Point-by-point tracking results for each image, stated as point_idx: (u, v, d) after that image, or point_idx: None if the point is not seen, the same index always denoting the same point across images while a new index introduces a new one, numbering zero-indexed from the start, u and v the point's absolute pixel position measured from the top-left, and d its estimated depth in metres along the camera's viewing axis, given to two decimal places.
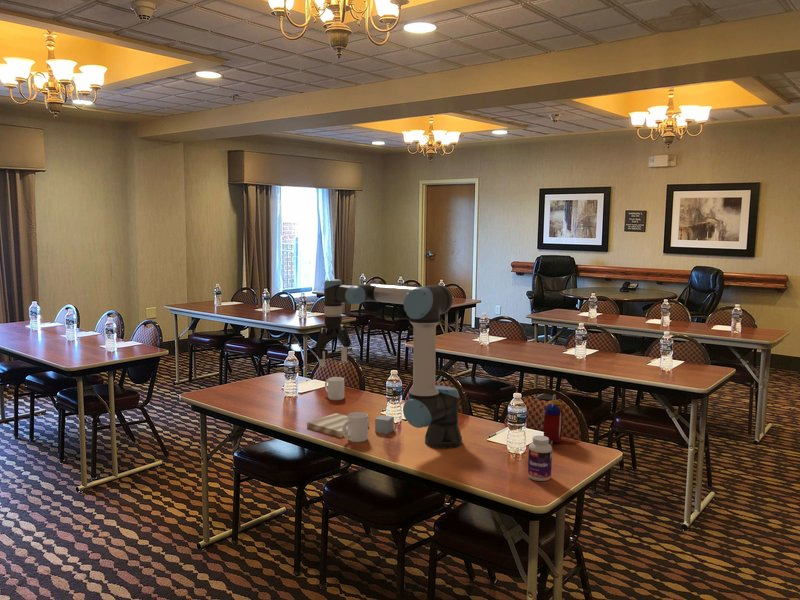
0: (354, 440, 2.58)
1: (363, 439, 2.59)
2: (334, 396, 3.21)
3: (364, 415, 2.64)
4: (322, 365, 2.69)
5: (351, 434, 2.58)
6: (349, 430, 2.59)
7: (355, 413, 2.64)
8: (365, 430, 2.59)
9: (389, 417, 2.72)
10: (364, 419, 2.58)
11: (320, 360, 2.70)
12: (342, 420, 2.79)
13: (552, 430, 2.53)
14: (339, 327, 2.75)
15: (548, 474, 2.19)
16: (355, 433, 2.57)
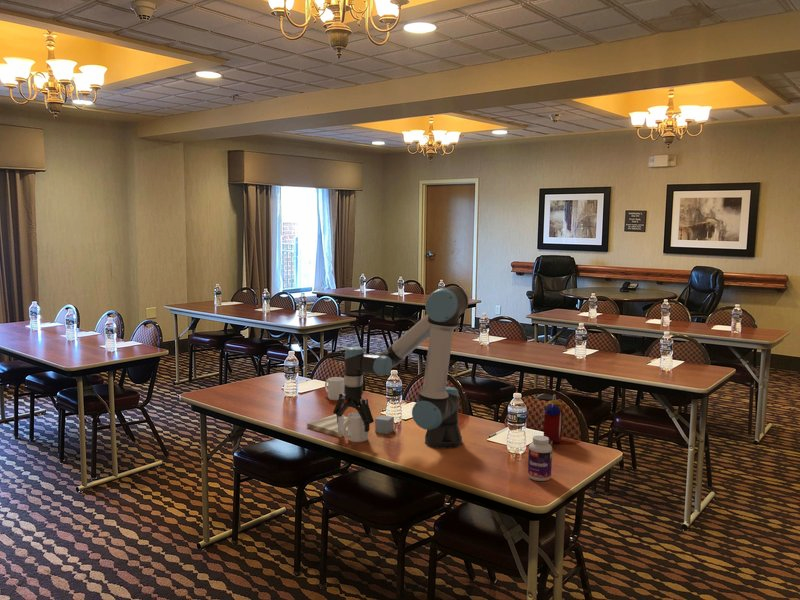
0: (354, 440, 2.58)
1: None
2: (334, 396, 3.21)
3: None
4: None
5: (351, 434, 2.58)
6: (349, 430, 2.59)
7: (355, 413, 2.64)
8: None
9: (389, 417, 2.72)
10: None
11: None
12: None
13: (552, 430, 2.53)
14: (356, 399, 2.56)
15: (548, 474, 2.19)
16: (355, 433, 2.57)
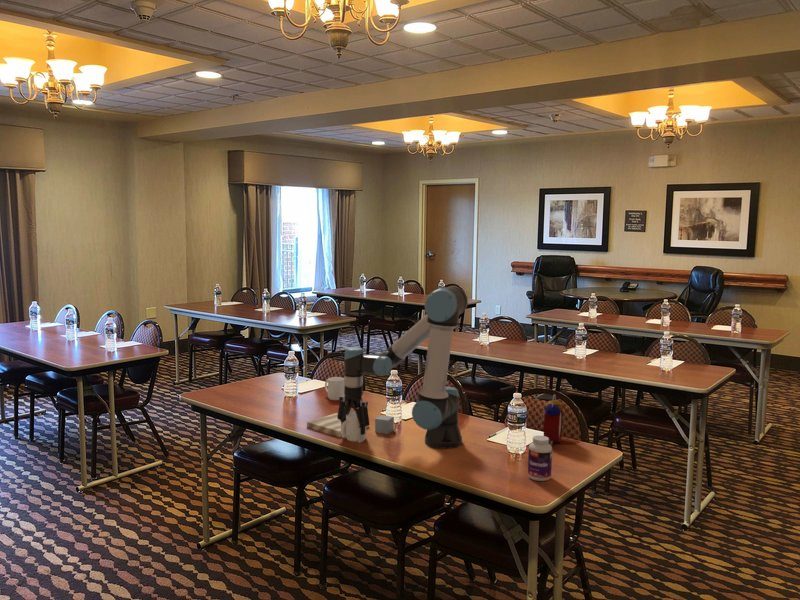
0: (353, 440, 2.58)
1: None
2: (334, 396, 3.21)
3: None
4: None
5: (350, 434, 2.59)
6: (347, 430, 2.59)
7: (353, 413, 2.65)
8: None
9: (389, 417, 2.72)
10: None
11: None
12: None
13: (552, 430, 2.53)
14: (356, 400, 2.56)
15: (548, 474, 2.19)
16: (354, 433, 2.58)
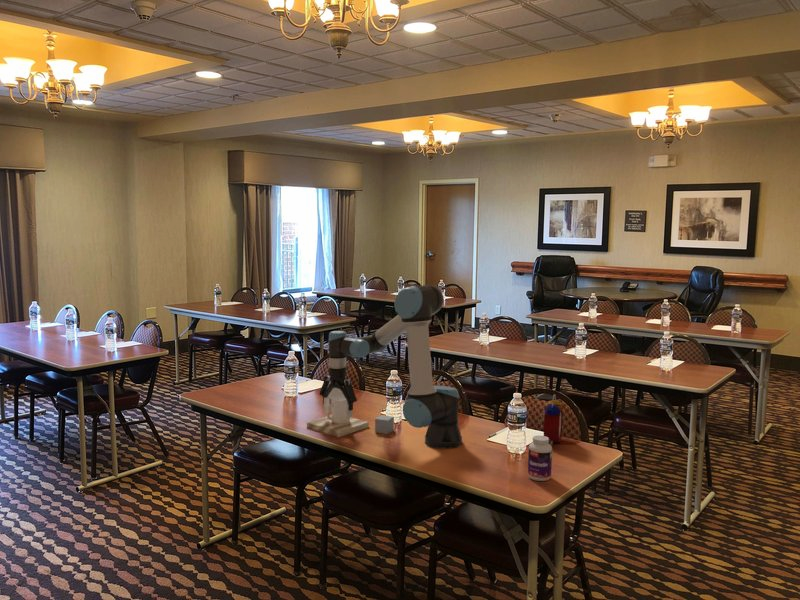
0: (337, 422, 2.75)
1: (345, 421, 2.75)
2: (334, 396, 3.21)
3: None
4: None
5: (334, 416, 2.75)
6: (332, 412, 2.75)
7: (338, 397, 2.81)
8: None
9: (389, 417, 2.72)
10: (346, 402, 2.75)
11: None
12: None
13: (552, 430, 2.53)
14: (340, 380, 2.72)
15: (548, 474, 2.19)
16: (338, 415, 2.74)
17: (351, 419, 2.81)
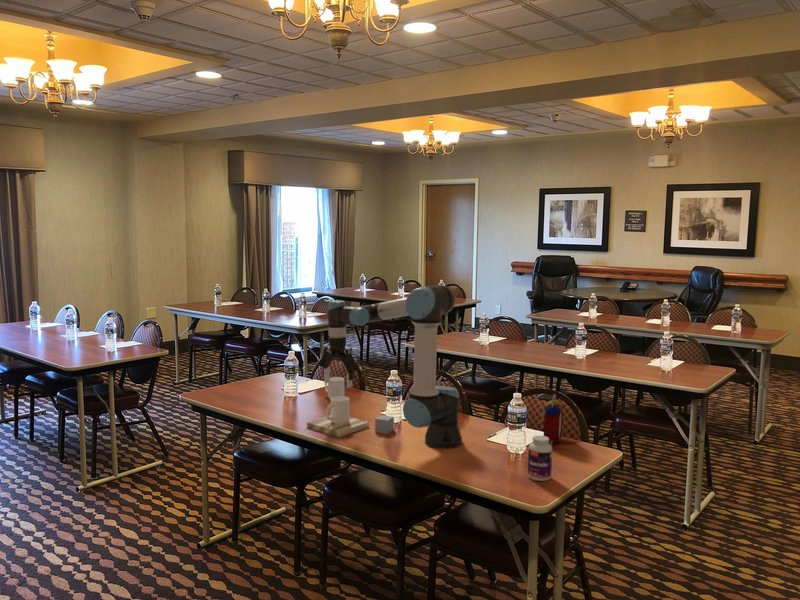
0: (337, 422, 2.74)
1: (345, 421, 2.75)
2: (334, 396, 3.21)
3: (346, 399, 2.80)
4: None
5: (334, 416, 2.74)
6: (332, 413, 2.75)
7: (337, 397, 2.80)
8: (347, 413, 2.75)
9: (389, 417, 2.72)
10: (346, 402, 2.74)
11: None
12: None
13: (552, 430, 2.53)
14: (340, 350, 2.71)
15: (548, 474, 2.19)
16: (338, 415, 2.74)
17: (351, 419, 2.81)
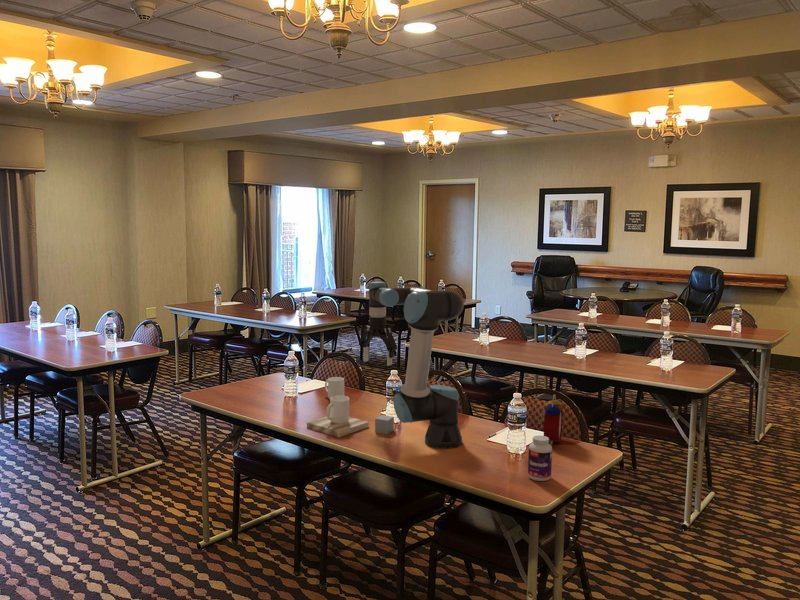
0: (336, 422, 2.74)
1: (345, 421, 2.75)
2: None
3: (345, 398, 2.80)
4: None
5: (334, 416, 2.74)
6: (332, 412, 2.75)
7: (337, 396, 2.80)
8: (347, 412, 2.75)
9: (389, 417, 2.72)
10: (346, 402, 2.74)
11: None
12: None
13: (552, 430, 2.53)
14: (381, 329, 2.81)
15: (548, 474, 2.19)
16: (338, 415, 2.73)
17: (351, 419, 2.81)
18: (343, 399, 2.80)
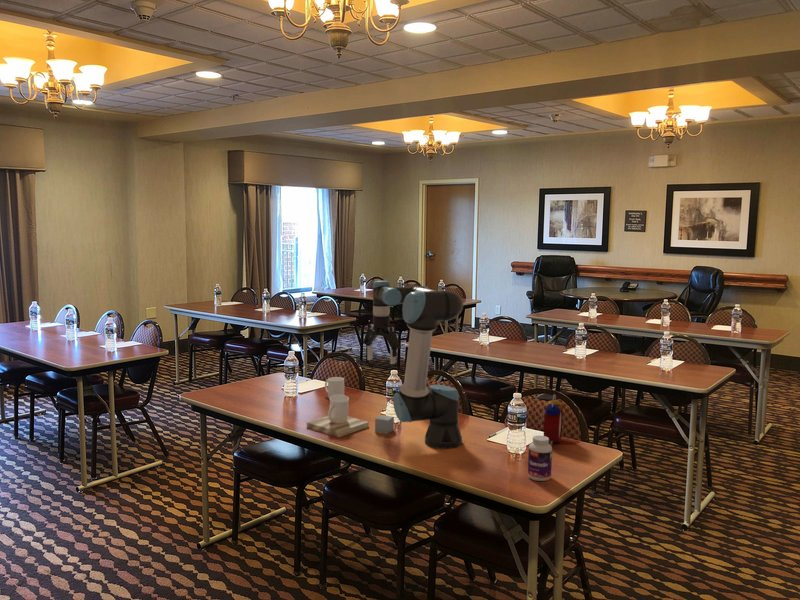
0: (338, 422, 2.74)
1: (345, 420, 2.76)
2: None
3: (343, 397, 2.79)
4: None
5: (335, 417, 2.74)
6: (332, 413, 2.74)
7: (335, 395, 2.79)
8: (347, 412, 2.76)
9: (389, 417, 2.72)
10: (347, 402, 2.74)
11: None
12: None
13: (552, 430, 2.53)
14: (384, 328, 2.82)
15: (548, 474, 2.19)
16: (339, 416, 2.73)
17: (351, 419, 2.81)
18: (341, 398, 2.80)
